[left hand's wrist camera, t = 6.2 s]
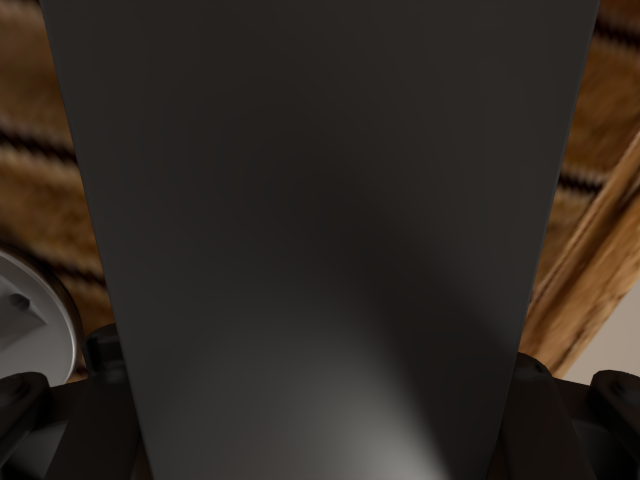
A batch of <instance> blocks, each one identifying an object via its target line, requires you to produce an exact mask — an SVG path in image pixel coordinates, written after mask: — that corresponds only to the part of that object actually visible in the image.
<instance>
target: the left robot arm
mask: <svg viewBox="0 0 640 480" xmlns="http://www.w3.org/2000/svg"><path fill="white" fill-rule="evenodd" d="M82 354H83V356H84V359H85V363H86V367H87V370H88V374H89V375H88V378H87V379H85V380H81V381H77V382H72V383H68V384H65V383H66V382H67V381H68V380H69V379H70V378H71V377H72V375H73V374H74V373H75V371H76V370H77V368H78V366H79V364H80V361H81V358H82ZM0 480H152V476H151V472H150V468H149V464H148V459H147V455H146V451H145V447H144V442H143V438H142V434H141V430H140V425H139V421H138V417H137V413H136V408H135V404H134V400H133V396H132V391H131V387H130V383H129V379H128V374H127V370H126V366H125V362H124V357H123V353H122V349H121V345H120V340H119V336H118V332H117V328H116V323H113V324H109V325H106V326H104V327H101V328H99V329H96V330H95V331H93V332H92V333H90V334H89V335H87V336H86V337H85V338H84V335H83V328H82V324H81V320H80V318H79V315H78V312H77V310H76V308H75V306H74V304H73V302H72V300H71V299H70V297H69V296H68V294H67V293H66V291H65V290H64V289H63V287H62V286H61V285H60V284H59V283H58V281H57V280H56V279H55V278H54V277H53V276H52V275H51V274H50V273H49V272H48V271H47V270H46V269H45V268H43V267H42V266H41V265H40V264H39V263H37V262H36V261H35V260H33V259H32V258H30V257H29V256H27V255H26V254H24V253H23V252H21V251H19V250H18V249H16V248H14V247H12V246H10V245H8V244H6V243H4V242H1V241H0ZM488 480H640V377H638V376H635V375H633V374H629V373H626V372H622V371H615V370H603V371H598V372H597V373H596V374H594V375H593V378H592V381H591V384H590V386H589V385H584V384H580V383H575V382H570V381H566V380H561V379H557V378H554V377H552V375H551V373H550V372H549V370H548V369H547V368H546V366H544V365H543V364H542V363H541V362H539V361H538V360H537V359H535V358H533V357H531V356H528V355H526V354H524V353H520V352H518V353H517V357H516V361H515V365H514V370H513V374H512V378H511V382H510V387H509V391H508V395H507V399H506V403H505V408H504V412H503V416H502V420H501V425H500V429H499V433H498V437H497V442H496V446H495V450H494V454H493V459H492V463H491V467H490V471H489V476H488Z"/></svg>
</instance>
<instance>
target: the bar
mask: <svg viewBox="0 0 640 480" xmlns="http://www.w3.org/2000/svg"><path fill="white" fill-rule="evenodd" d="M39 1H40V5H41V9H42V13H43V18H44V22H45V26H46V30H47V35H48V39H49V43H50V47H51V52H52V56H53V60H54V64H55V69H56V73H57V77H58V81H59V86H60V90H61V94H62V98H63V103H64V107H65V111H66V115H67V119H68V124H69V128H70V132H71V136H72V141H73V145H74V149H75V153H76V158H77V162H78V166H79V170H80V175H81V179H82V183H83V187H84V192H85V196H86V200H87V204H88V209H89V213H90V217H91V221H92V226H93V230H94V234H95V238H96V243H97V247H98V251H99V255H100V260H101V264H102V268H103V272H104V277H105V281H106V285H107V289H108V294H109V298H110V302H111V306H112V311H113V315H114V319H115V323H116V328H117V332H118V336H119V340H120V345H121V349H122V353H123V357H124V362H125V366H126V370H127V374H128V379H129V383H130V387H131V391H132V396H133V400H134V404H135V408H136V413H137V417H138V421H139V425H140V430H141V434H142V438H143V442H144V447H145V451H146V455H147V459H148V464H149V468H150V472H151V476H152V480H488V476H489V471H490V467H491V463H492V459H493V454H494V450H495V446H496V442H497V437H498V433H499V429H500V425H501V420H502V416H503V412H504V408H505V403H506V399H507V395H508V391H509V387H510V382H511V378H512V374H513V370H514V365H515V361H516V357H517V353H518V348H519V344H520V340H521V336H522V331H523V327H524V323H525V319H526V314H527V310H528V306H529V302H530V297H531V293H532V289H533V285H534V280H535V276H536V272H537V268H538V263H539V259H540V255H541V251H542V246H543V242H544V238H545V234H546V229H547V225H548V221H549V217H550V212H551V208H552V204H553V200H554V196H555V191H556V187H557V183H558V179H559V174H560V170H561V166H562V162H563V157H564V153H565V149H566V145H567V140H568V136H569V132H570V128H571V123H572V119H573V115H574V111H575V106H576V102H577V98H578V94H579V89H580V85H581V81H582V77H583V72H584V68H585V64H586V60H587V55H588V51H589V47H590V43H591V38H592V34H593V30H594V26H595V22H596V17H597V13H598V9H599V5H600V0H39Z"/></svg>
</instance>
